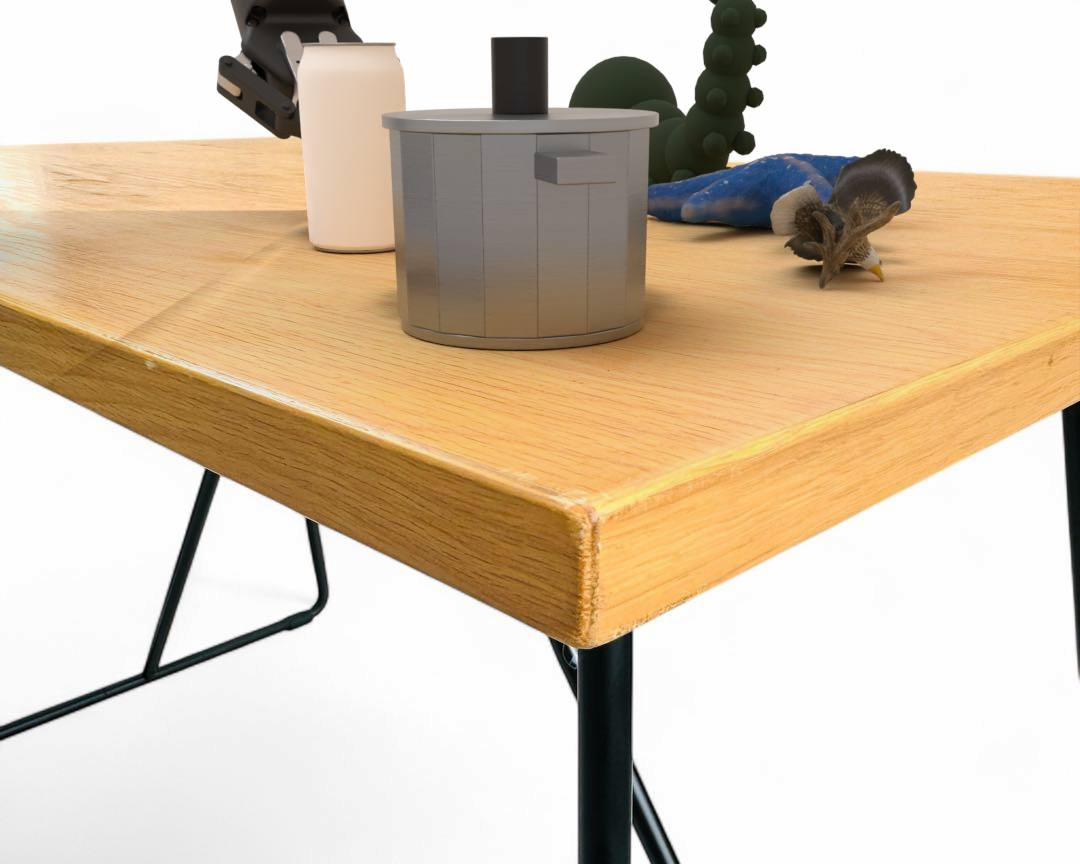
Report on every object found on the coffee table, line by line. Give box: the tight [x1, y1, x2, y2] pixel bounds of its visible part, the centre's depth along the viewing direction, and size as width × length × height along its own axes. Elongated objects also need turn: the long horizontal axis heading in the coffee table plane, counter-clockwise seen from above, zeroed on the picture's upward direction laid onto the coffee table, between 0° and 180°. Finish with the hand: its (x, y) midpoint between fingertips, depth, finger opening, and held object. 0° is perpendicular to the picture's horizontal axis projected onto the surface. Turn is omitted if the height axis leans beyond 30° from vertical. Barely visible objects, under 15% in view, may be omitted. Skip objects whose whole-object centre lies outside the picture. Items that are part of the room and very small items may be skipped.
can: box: [297, 42, 407, 254], centre depth 75 cm, size 6×6×12 cm
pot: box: [389, 128, 649, 351], centre depth 53 cm, size 11×16×8 cm
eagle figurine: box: [770, 147, 918, 290], centre depth 65 cm, size 8×7×9 cm
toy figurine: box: [567, 0, 768, 187], centre depth 100 cm, size 9×19×25 cm
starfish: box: [647, 152, 913, 228], centre depth 84 cm, size 19×19×5 cm
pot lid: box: [382, 36, 659, 134], centre depth 51 cm, size 12×12×4 cm
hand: (342, 178), depth 79 cm, fingers closed
